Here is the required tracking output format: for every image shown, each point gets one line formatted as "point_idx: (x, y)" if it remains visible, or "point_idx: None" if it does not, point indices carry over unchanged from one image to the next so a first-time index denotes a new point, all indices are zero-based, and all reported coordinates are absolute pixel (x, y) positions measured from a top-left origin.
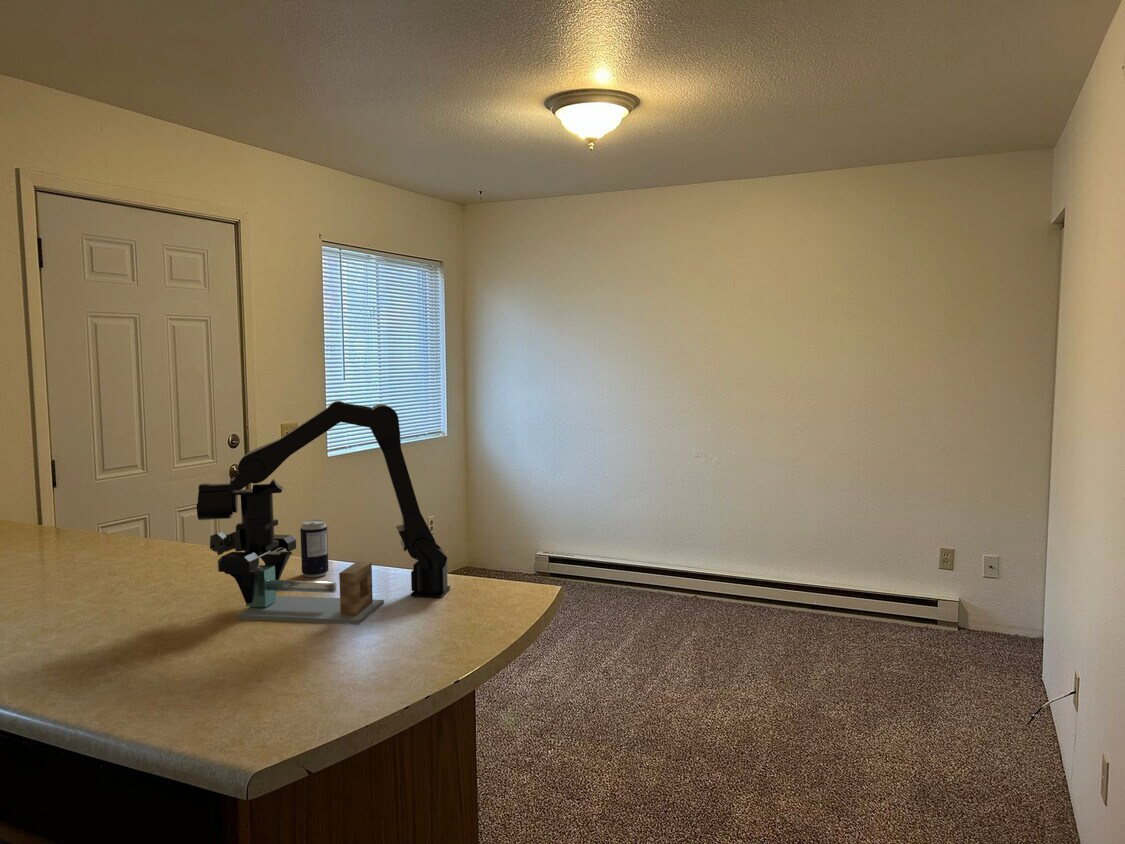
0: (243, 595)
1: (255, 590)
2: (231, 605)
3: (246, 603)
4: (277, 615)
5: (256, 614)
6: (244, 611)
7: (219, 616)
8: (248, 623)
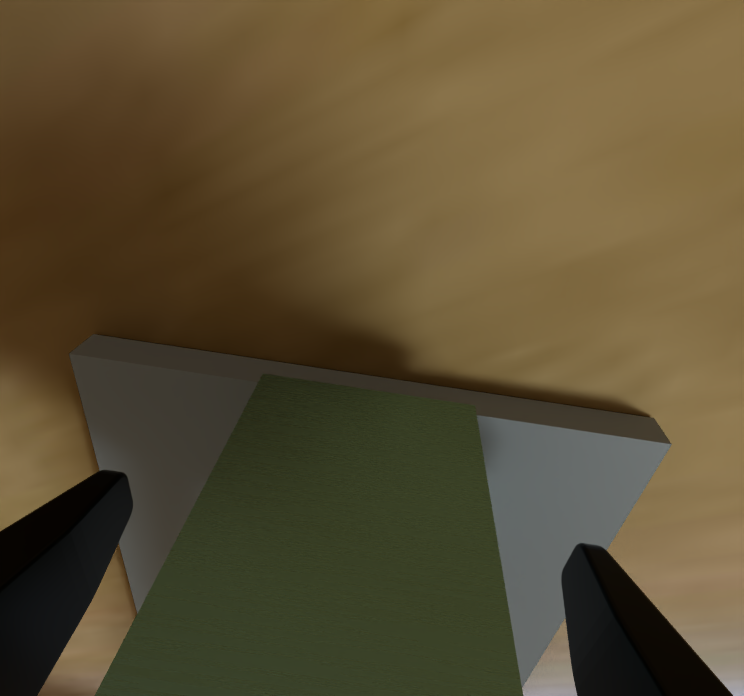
0: (4, 537)
1: (45, 674)
2: (516, 82)
3: (255, 396)
4: (149, 585)
5: (130, 483)
6: (167, 386)
7: (111, 128)
8: (47, 439)
